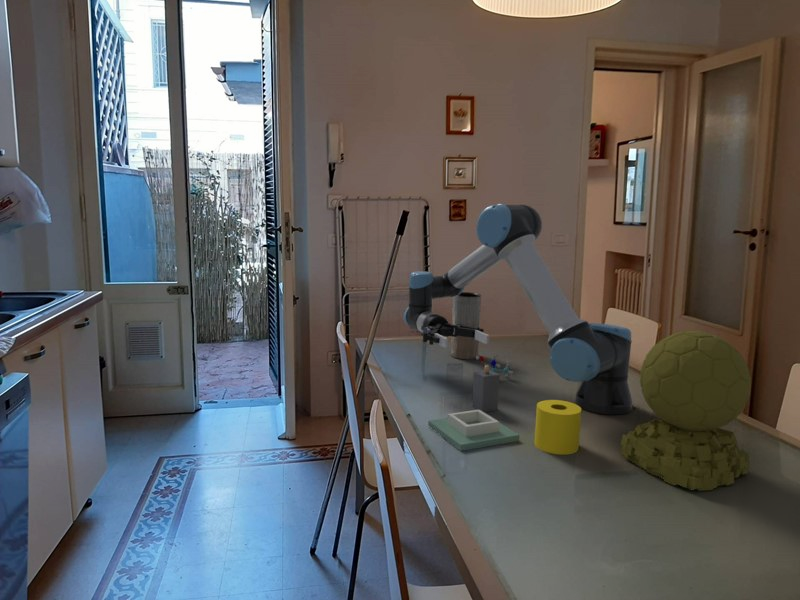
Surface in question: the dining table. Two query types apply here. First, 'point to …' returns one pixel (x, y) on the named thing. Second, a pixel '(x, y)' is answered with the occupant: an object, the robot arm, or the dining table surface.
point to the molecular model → (496, 365)
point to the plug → (485, 390)
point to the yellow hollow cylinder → (557, 427)
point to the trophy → (691, 412)
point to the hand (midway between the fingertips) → (467, 341)
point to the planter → (468, 315)
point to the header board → (472, 430)
